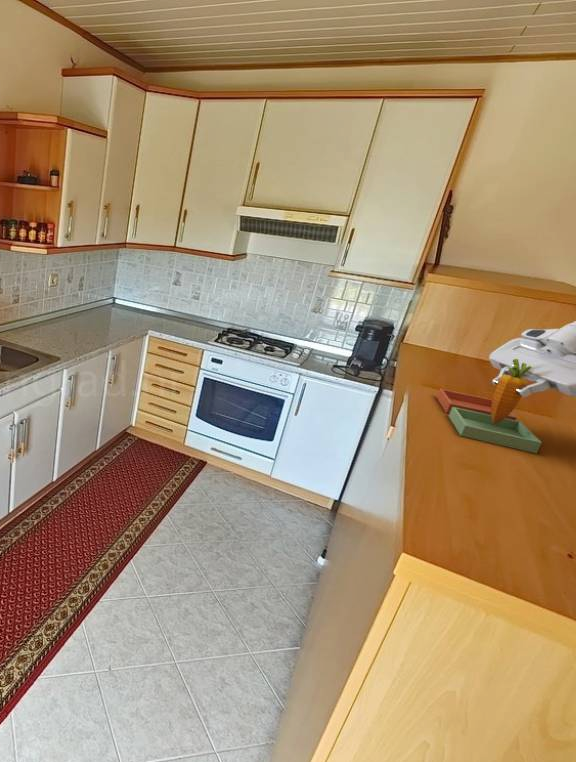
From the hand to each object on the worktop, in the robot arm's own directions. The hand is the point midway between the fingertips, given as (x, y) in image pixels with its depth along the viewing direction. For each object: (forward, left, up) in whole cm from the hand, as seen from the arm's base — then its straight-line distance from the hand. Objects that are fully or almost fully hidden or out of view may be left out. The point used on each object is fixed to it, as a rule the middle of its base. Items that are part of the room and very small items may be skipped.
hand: (507, 389), depth 107 cm
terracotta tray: (0, -16, -11) cm, 19 cm away
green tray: (0, 0, -11) cm, 11 cm away
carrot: (-1, 0, -9) cm, 9 cm away
